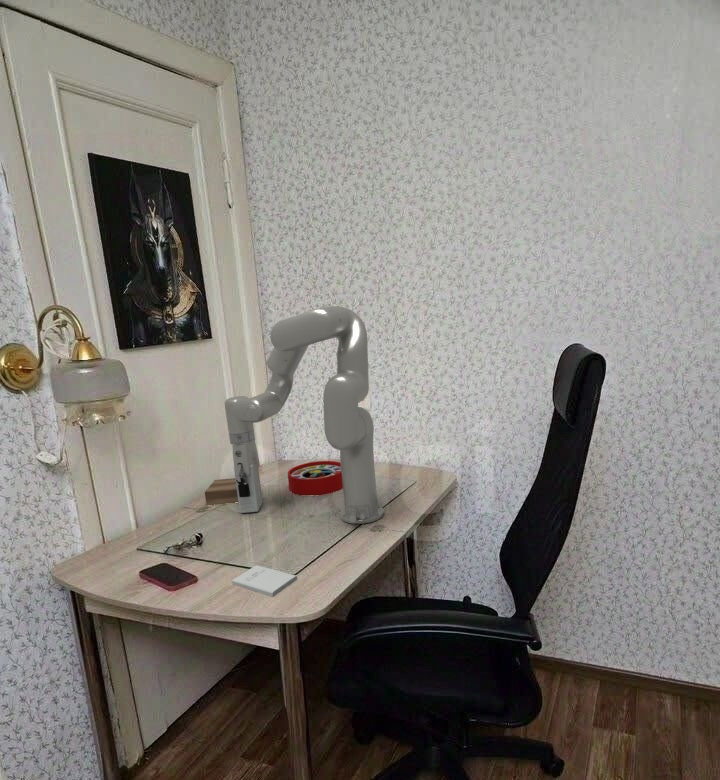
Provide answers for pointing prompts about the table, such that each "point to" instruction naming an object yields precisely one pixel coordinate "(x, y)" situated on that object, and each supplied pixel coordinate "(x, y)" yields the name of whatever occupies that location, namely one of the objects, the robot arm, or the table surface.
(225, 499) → the walnut block
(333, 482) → the toy clock
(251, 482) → the skincare box
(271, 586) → the external hard drive
